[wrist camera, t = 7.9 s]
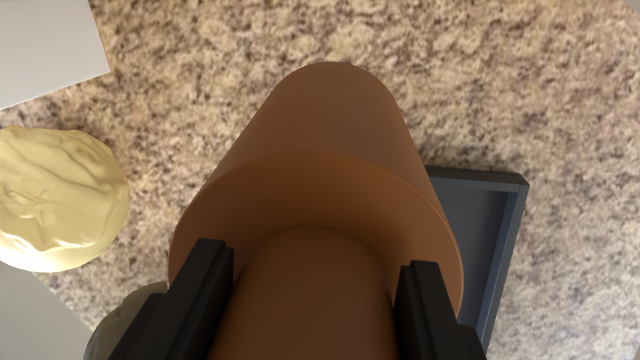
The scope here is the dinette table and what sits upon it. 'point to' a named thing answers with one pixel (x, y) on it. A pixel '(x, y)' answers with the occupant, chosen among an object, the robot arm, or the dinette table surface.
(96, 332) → the dark grey rock
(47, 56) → the milk
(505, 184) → the tray
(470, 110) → the dinette table surface
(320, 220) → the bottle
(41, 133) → the sculpture
